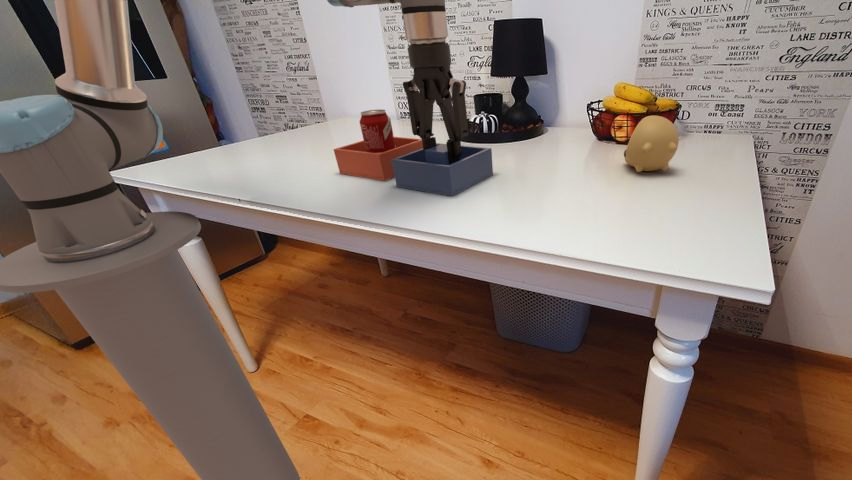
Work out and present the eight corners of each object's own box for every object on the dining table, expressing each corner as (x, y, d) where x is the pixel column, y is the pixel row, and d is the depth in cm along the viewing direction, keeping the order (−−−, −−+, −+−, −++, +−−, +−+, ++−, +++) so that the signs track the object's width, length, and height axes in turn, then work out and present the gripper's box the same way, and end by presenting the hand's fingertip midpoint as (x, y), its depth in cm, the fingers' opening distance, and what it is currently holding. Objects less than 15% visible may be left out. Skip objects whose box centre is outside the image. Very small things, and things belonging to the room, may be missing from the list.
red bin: (339, 173, 93) (333, 149, 90) (384, 157, 104) (380, 135, 101) (384, 180, 86) (379, 154, 83) (428, 163, 97) (424, 139, 94)
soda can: (385, 171, 91) (373, 114, 84) (363, 168, 94) (350, 113, 87) (404, 163, 96) (395, 109, 89) (383, 160, 99) (373, 108, 92)
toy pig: (665, 184, 85) (658, 141, 88) (691, 151, 74) (682, 103, 77) (619, 185, 85) (614, 142, 88) (638, 152, 74) (631, 104, 77)
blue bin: (396, 186, 82) (391, 159, 79) (440, 167, 93) (437, 142, 90) (452, 196, 76) (448, 167, 73) (493, 174, 86) (491, 148, 83)
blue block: (428, 174, 83) (424, 150, 80) (443, 168, 86) (439, 144, 84) (447, 177, 80) (443, 152, 78) (461, 170, 84) (459, 146, 81)
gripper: (481, 38, 69) (490, 171, 82) (405, 43, 78) (423, 162, 90) (456, 40, 64) (469, 182, 76) (376, 45, 72) (400, 172, 85)
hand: (444, 171), depth 83 cm, fingers closed on blue block, 5 cm apart
